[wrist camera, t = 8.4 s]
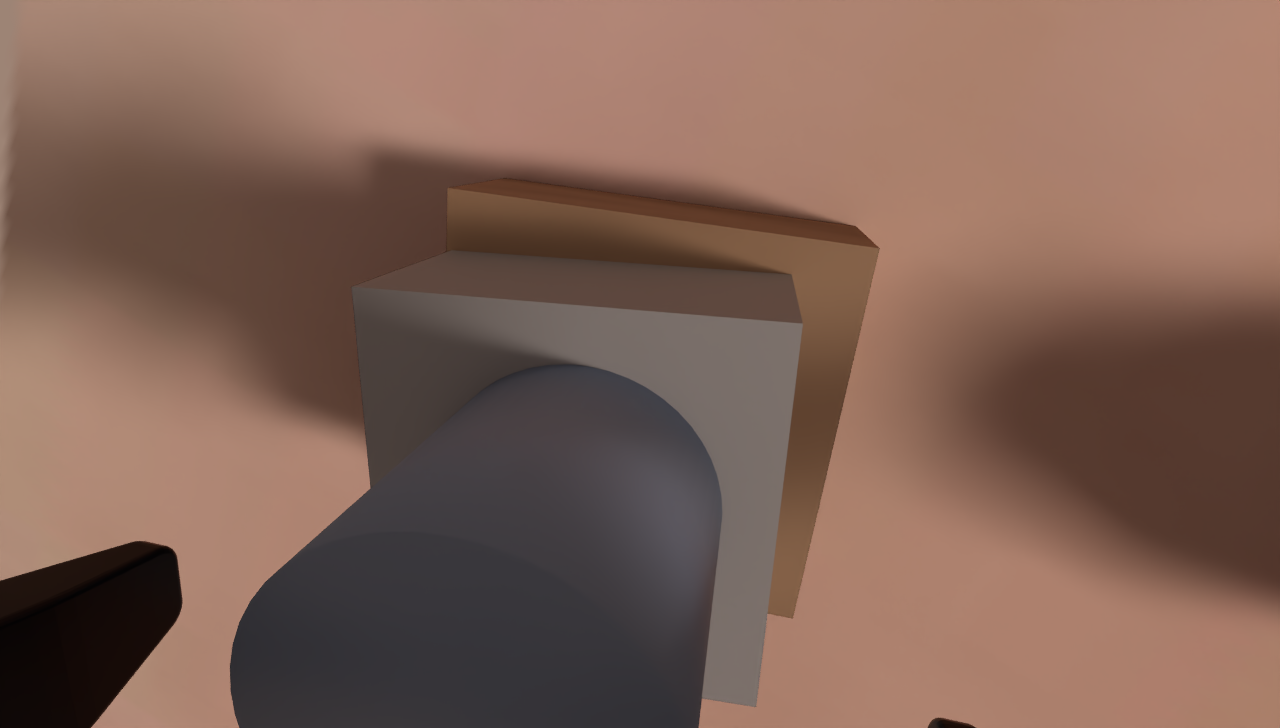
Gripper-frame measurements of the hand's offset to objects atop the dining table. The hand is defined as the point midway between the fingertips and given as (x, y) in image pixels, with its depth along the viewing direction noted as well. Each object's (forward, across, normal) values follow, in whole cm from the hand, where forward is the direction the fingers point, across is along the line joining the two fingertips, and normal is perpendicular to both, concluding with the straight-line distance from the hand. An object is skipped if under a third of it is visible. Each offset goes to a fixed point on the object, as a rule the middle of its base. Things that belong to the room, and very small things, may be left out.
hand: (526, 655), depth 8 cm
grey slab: (+6, 0, 0) cm, 6 cm away
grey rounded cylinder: (+3, 0, 0) cm, 3 cm away
